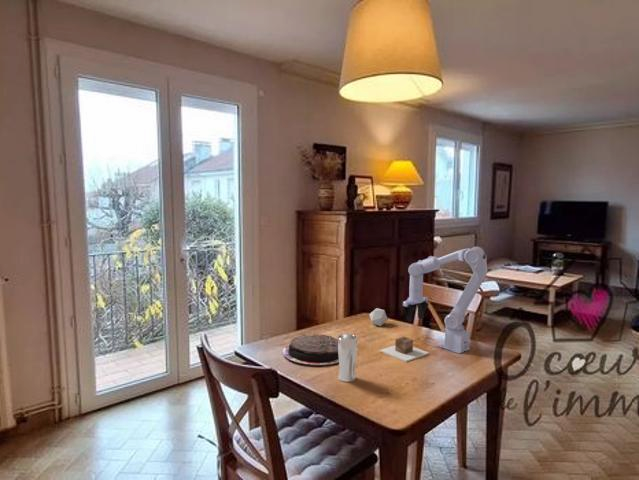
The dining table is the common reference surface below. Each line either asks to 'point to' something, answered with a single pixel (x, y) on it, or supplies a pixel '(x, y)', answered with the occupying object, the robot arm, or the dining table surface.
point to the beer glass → (347, 356)
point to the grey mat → (404, 357)
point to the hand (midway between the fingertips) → (415, 319)
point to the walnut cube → (404, 345)
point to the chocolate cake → (312, 350)
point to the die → (378, 317)
